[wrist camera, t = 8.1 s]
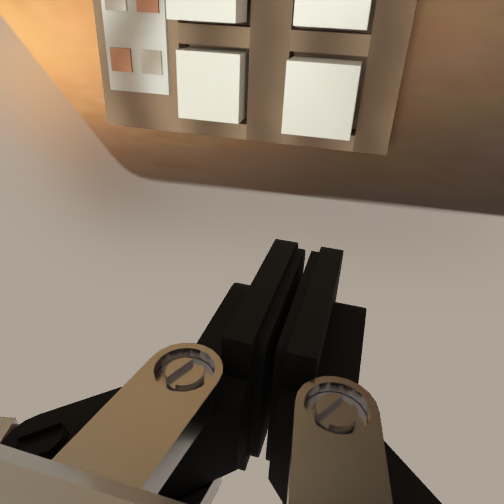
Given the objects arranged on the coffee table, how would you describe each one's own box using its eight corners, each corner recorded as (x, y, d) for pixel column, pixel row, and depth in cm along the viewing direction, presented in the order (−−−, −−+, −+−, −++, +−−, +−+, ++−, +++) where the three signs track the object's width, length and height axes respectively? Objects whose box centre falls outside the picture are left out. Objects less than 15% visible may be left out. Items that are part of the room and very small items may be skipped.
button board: (429, -81, 27) (436, -91, 24) (385, 144, 34) (386, 157, 31) (105, -85, 31) (77, -94, 28) (125, 116, 38) (104, 125, 35)
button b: (362, 61, 29) (361, 65, 27) (351, 130, 32) (349, 140, 29) (293, 56, 30) (286, 60, 28) (288, 124, 32) (281, 133, 30)
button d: (250, 51, 32) (240, 54, 30) (247, 115, 34) (238, 124, 32) (190, 46, 33) (175, 49, 30) (191, 110, 35) (178, 117, 33)
